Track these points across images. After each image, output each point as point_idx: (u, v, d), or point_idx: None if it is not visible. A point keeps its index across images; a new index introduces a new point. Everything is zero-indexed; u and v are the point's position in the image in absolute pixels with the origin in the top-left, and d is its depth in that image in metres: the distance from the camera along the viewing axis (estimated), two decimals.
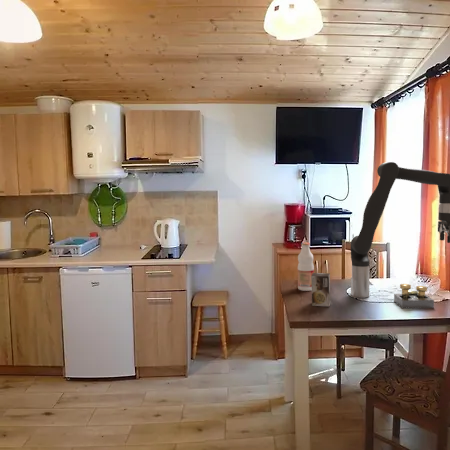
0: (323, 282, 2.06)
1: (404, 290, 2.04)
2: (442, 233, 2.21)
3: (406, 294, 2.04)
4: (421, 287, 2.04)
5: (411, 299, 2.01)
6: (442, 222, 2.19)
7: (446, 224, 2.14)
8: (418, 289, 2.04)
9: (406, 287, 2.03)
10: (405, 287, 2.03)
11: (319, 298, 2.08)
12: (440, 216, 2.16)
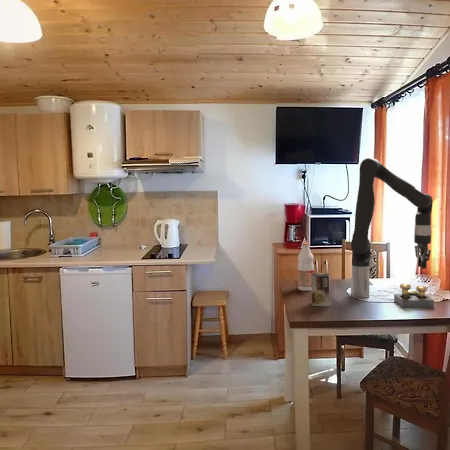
0: (323, 282, 2.06)
1: (404, 290, 2.04)
2: (420, 259, 2.05)
3: (406, 294, 2.04)
4: (421, 287, 2.04)
5: (411, 299, 2.01)
6: (418, 245, 2.04)
7: (422, 247, 2.00)
8: (418, 289, 2.04)
9: (406, 287, 2.03)
10: (405, 287, 2.03)
11: (319, 298, 2.08)
12: (416, 239, 2.01)
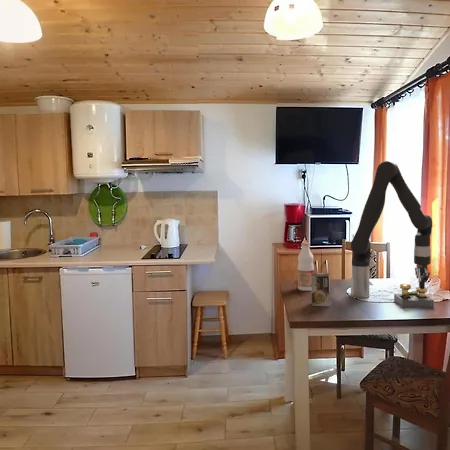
0: (323, 282, 2.06)
1: (404, 290, 2.04)
2: None
3: (406, 294, 2.04)
4: None
5: (411, 299, 2.01)
6: (418, 265, 2.05)
7: (422, 268, 2.01)
8: (418, 290, 2.04)
9: (406, 287, 2.03)
10: (405, 287, 2.03)
11: (319, 298, 2.08)
12: (415, 259, 2.02)
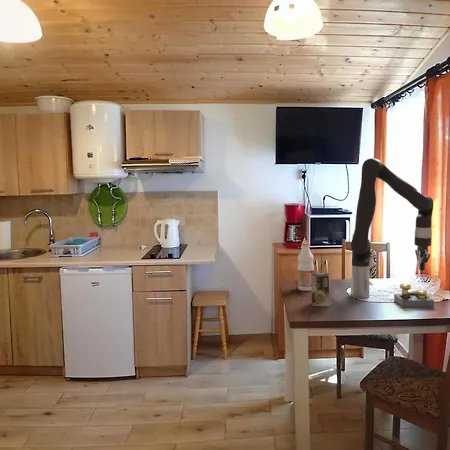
0: (323, 282, 2.06)
1: (404, 290, 2.04)
2: None
3: (406, 294, 2.04)
4: (421, 291, 2.04)
5: (411, 299, 2.01)
6: (418, 247, 2.04)
7: (422, 250, 2.00)
8: (418, 293, 2.04)
9: (406, 287, 2.03)
10: (405, 287, 2.03)
11: (319, 298, 2.08)
12: (416, 241, 2.01)
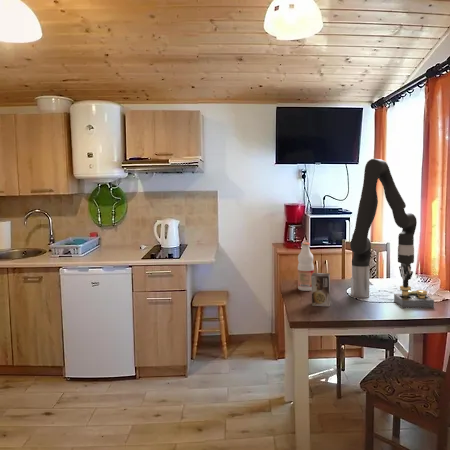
0: (323, 282, 2.06)
1: (404, 292, 2.04)
2: None
3: (406, 296, 2.04)
4: (421, 291, 2.04)
5: (411, 299, 2.01)
6: (402, 264, 2.06)
7: (405, 267, 2.01)
8: (418, 293, 2.04)
9: (406, 289, 2.03)
10: (405, 289, 2.03)
11: (319, 298, 2.08)
12: (399, 258, 2.03)
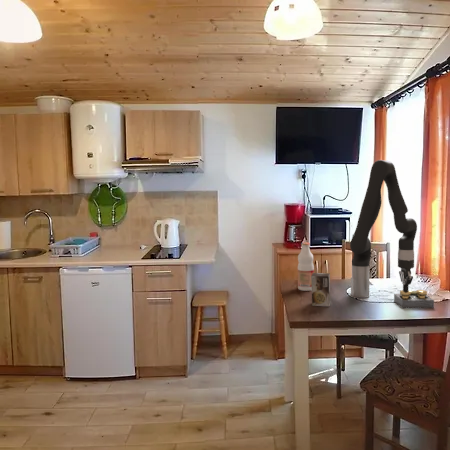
0: (323, 282, 2.06)
1: (404, 297, 2.04)
2: None
3: None
4: (421, 291, 2.04)
5: (411, 299, 2.01)
6: (402, 269, 2.06)
7: (405, 272, 2.02)
8: (418, 293, 2.04)
9: (406, 294, 2.03)
10: (405, 294, 2.03)
11: (319, 298, 2.08)
12: (399, 263, 2.03)
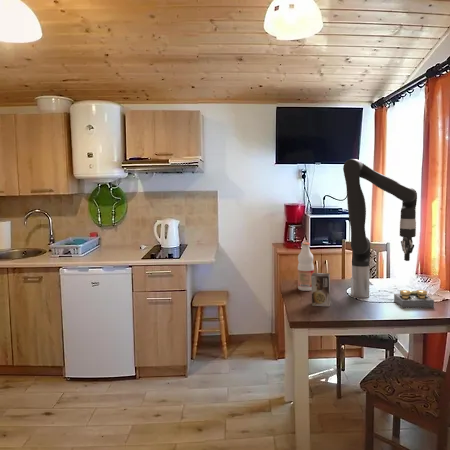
0: (323, 282, 2.06)
1: (404, 296, 2.04)
2: None
3: None
4: (421, 291, 2.04)
5: (411, 299, 2.01)
6: (403, 238, 2.09)
7: (407, 240, 2.05)
8: (418, 293, 2.04)
9: (406, 293, 2.03)
10: (405, 293, 2.03)
11: (319, 298, 2.08)
12: (401, 232, 2.06)
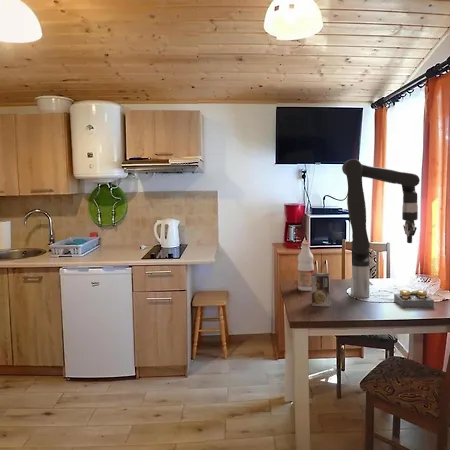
0: (323, 282, 2.06)
1: (404, 296, 2.04)
2: None
3: None
4: (421, 291, 2.04)
5: (411, 299, 2.01)
6: (406, 221, 2.20)
7: (409, 223, 2.15)
8: (418, 293, 2.04)
9: (406, 293, 2.03)
10: (405, 293, 2.03)
11: (319, 298, 2.08)
12: (403, 216, 2.17)
